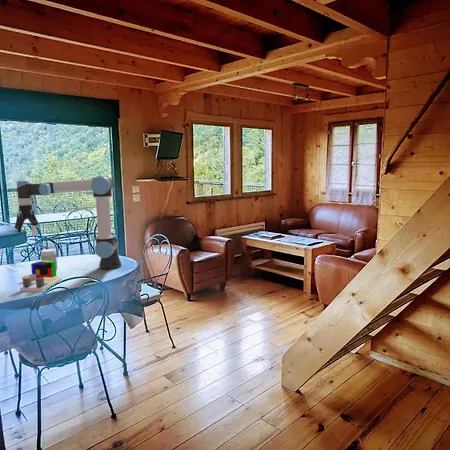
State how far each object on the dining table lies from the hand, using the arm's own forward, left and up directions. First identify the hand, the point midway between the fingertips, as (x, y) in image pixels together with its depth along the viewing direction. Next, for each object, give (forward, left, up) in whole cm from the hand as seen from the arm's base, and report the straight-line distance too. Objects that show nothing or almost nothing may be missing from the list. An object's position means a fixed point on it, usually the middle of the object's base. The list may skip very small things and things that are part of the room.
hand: (27, 237), depth 251 cm
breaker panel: (-21, +22, -26) cm, 40 cm away
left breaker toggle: (-25, +30, -23) cm, 45 cm away
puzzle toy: (-12, +4, -26) cm, 29 cm away
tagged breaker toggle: (-17, +30, -23) cm, 41 cm away
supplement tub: (-7, -11, -26) cm, 29 cm away
